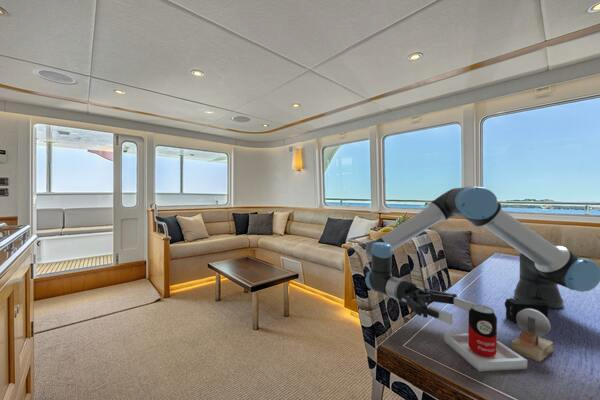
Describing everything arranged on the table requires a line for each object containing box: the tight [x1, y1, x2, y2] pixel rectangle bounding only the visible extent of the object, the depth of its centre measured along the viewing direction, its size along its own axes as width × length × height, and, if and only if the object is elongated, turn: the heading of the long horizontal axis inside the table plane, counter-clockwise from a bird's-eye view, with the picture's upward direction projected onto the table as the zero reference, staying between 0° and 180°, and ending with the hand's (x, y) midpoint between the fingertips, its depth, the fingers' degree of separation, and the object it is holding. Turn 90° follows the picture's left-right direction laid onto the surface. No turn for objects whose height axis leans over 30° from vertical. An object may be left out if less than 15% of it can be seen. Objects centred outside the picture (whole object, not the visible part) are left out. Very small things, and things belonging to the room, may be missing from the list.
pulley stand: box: [510, 308, 555, 363], centre depth 71 cm, size 10×7×12 cm
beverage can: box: [468, 304, 498, 357], centre depth 70 cm, size 6×6×12 cm
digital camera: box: [504, 297, 549, 325], centre depth 89 cm, size 10×5×7 cm, turn 81°
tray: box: [444, 333, 528, 372], centre depth 70 cm, size 13×13×2 cm
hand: (464, 314), depth 74 cm, fingers open, 13 cm apart
